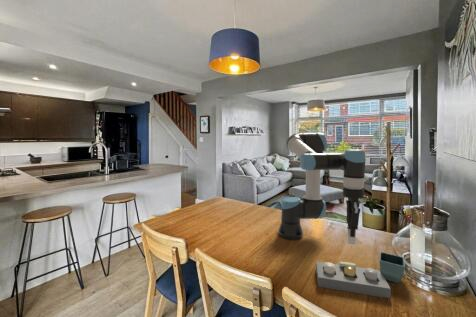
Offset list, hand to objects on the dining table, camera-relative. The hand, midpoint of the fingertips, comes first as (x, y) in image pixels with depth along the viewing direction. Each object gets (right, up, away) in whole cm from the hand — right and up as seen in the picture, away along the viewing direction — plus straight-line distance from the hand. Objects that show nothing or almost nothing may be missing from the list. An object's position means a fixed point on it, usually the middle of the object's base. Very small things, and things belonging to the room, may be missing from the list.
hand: (351, 243), depth 90 cm
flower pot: (+20, -17, +5) cm, 27 cm away
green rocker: (+1, -13, +6) cm, 14 cm away
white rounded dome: (+8, -16, 0) cm, 18 cm away
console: (0, -18, +2) cm, 18 cm away
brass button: (0, -16, +2) cm, 16 cm away
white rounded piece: (-8, -16, +4) cm, 18 cm away
